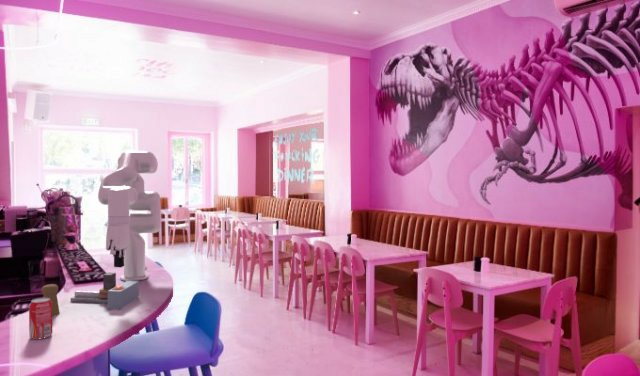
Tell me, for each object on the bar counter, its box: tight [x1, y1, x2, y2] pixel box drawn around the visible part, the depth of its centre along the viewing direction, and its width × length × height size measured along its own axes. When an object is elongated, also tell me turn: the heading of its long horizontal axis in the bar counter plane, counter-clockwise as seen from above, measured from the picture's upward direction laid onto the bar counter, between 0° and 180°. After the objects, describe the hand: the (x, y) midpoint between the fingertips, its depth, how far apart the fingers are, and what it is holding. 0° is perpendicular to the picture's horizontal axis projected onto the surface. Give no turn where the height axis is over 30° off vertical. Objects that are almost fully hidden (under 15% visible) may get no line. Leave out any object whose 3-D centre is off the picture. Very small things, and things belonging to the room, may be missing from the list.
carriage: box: [98, 272, 117, 298], centre depth 178 cm, size 4×6×9 cm
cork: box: [41, 283, 60, 318], centre depth 161 cm, size 6×6×11 cm
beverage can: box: [28, 297, 53, 340], centre depth 140 cm, size 6×6×12 cm
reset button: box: [114, 285, 123, 290], centre depth 172 cm, size 3×3×6 cm
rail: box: [70, 290, 108, 304], centre depth 179 cm, size 6×19×4 cm, turn 86°
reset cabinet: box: [107, 280, 140, 310], centre depth 176 cm, size 15×5×7 cm, turn 176°
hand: (119, 266), depth 172 cm, fingers closed
